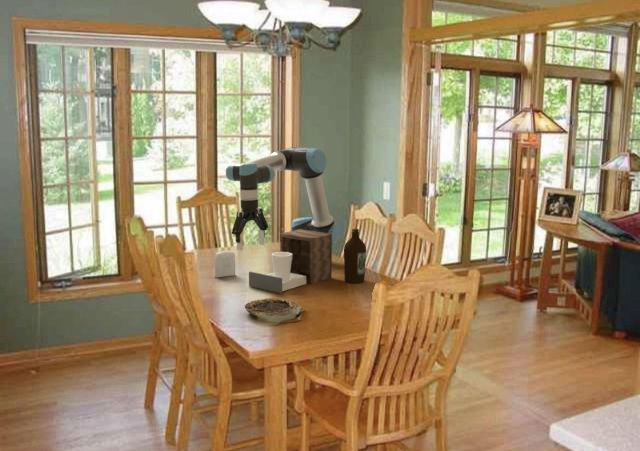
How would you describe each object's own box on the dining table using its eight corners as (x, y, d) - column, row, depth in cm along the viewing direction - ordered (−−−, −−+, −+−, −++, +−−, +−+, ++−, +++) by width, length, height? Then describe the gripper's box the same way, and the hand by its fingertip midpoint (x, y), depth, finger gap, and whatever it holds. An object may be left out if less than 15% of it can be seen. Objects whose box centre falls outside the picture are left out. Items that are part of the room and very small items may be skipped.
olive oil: (338, 281, 310) (339, 229, 306) (351, 277, 318) (352, 226, 314) (357, 285, 304) (359, 232, 300) (369, 280, 312) (371, 228, 308)
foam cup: (284, 285, 296) (284, 257, 294) (267, 282, 301) (267, 254, 299) (296, 280, 305) (296, 253, 302) (279, 278, 309) (279, 251, 307)
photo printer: (232, 273, 323) (232, 249, 320) (236, 275, 319) (236, 250, 317) (213, 276, 317) (213, 251, 315) (217, 278, 313) (216, 253, 311)
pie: (247, 330, 242) (247, 317, 241) (227, 310, 266) (227, 298, 265) (317, 321, 253) (317, 308, 252) (291, 303, 278) (291, 291, 277)
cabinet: (300, 271, 329) (300, 229, 325) (331, 277, 317) (331, 233, 313) (280, 277, 317) (280, 233, 313) (312, 283, 305) (312, 238, 301)
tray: (277, 277, 315) (277, 264, 314) (308, 284, 303) (309, 270, 302) (249, 286, 299) (248, 271, 298) (280, 293, 288) (280, 278, 287)
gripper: (262, 195, 295) (264, 241, 299) (222, 201, 276) (224, 251, 279) (275, 196, 290) (276, 243, 294) (234, 203, 271) (236, 253, 275)
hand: (250, 247), depth 287 cm, fingers open, 13 cm apart
